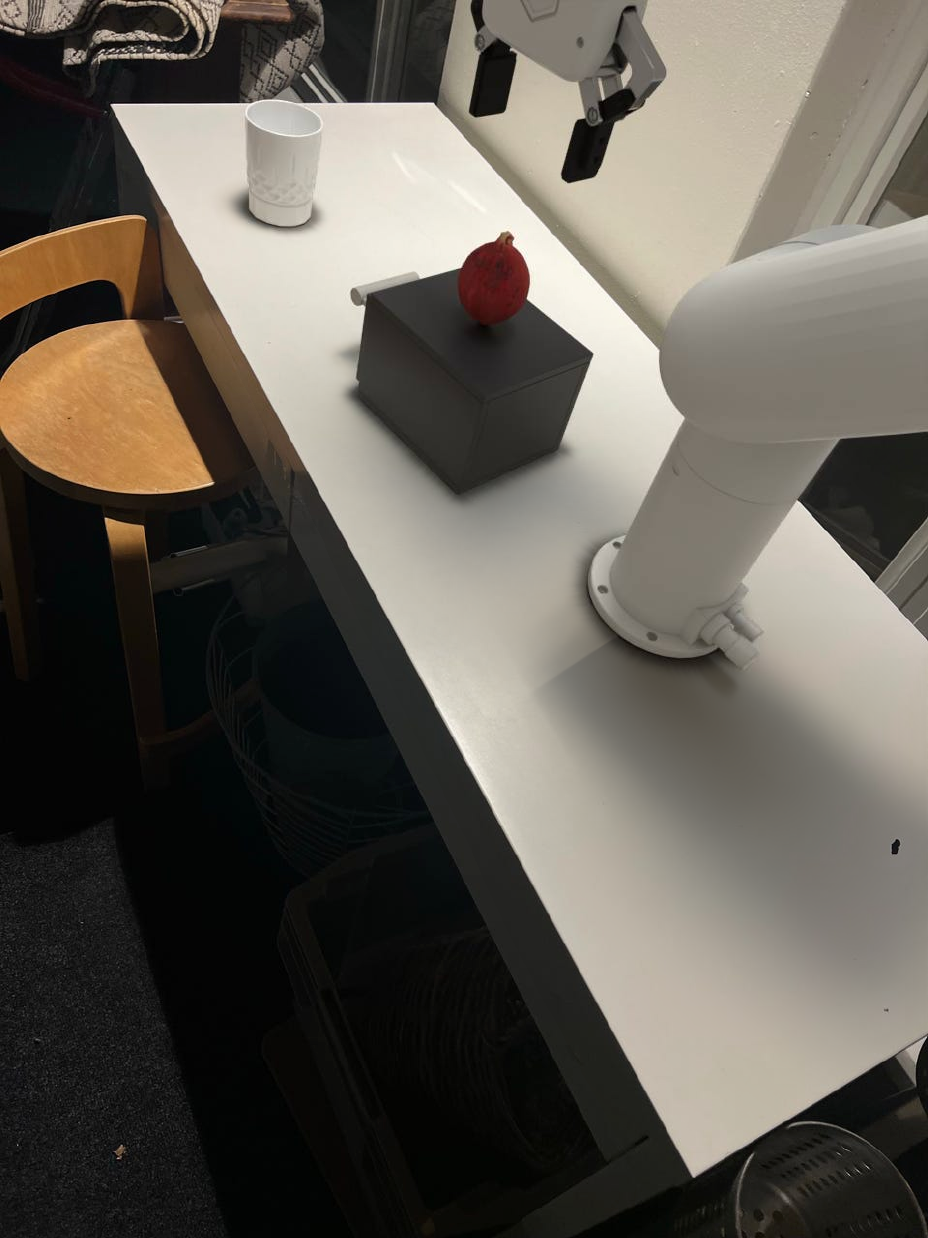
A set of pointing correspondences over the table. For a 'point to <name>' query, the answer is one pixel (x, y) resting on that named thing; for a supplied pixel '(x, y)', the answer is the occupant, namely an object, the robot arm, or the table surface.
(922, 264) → the robot arm
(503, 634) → the table surface
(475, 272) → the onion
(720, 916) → the table surface
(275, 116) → the white cup
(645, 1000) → the table surface
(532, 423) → the dark grey box
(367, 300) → the drawer
